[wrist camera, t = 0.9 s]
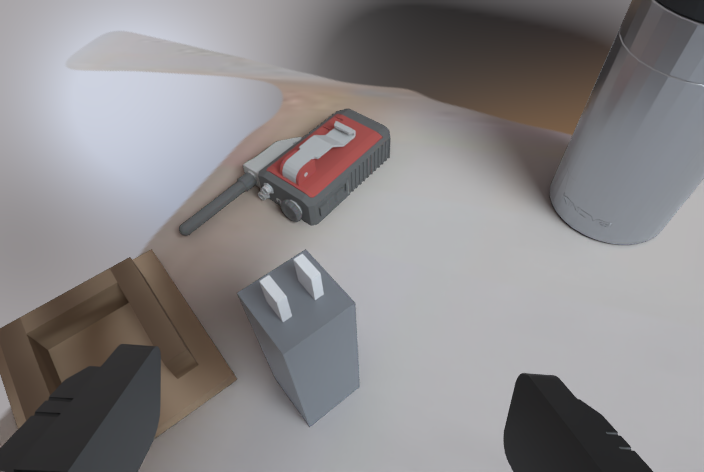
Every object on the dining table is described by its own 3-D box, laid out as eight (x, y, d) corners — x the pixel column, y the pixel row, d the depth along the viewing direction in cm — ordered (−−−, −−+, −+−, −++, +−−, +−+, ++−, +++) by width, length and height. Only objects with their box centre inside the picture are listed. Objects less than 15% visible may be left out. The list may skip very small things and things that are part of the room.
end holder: (156, 256, 37) (138, 229, 34) (237, 379, 31) (224, 358, 28) (-2, 345, 33) (-37, 322, 30) (53, 510, 26) (16, 500, 23)
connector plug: (323, 342, 32) (301, 226, 22) (359, 386, 30) (354, 282, 20) (274, 378, 31) (227, 272, 20) (309, 426, 29) (276, 336, 18)
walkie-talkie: (333, 115, 48) (177, 236, 39) (329, 78, 44) (158, 201, 35) (402, 150, 44) (249, 292, 35) (405, 112, 41) (236, 259, 32)
